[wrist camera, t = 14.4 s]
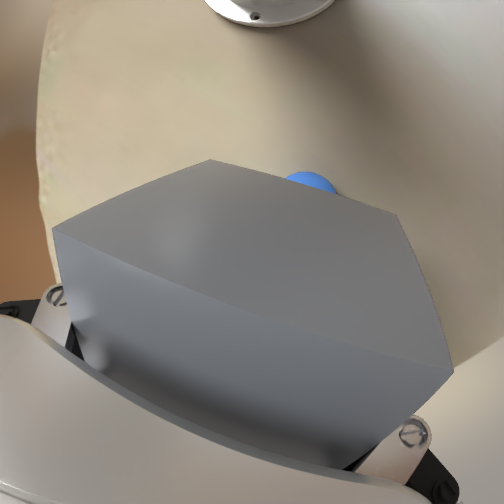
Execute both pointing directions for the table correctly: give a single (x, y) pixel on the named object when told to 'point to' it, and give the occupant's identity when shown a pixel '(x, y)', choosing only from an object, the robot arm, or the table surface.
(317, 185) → the ball
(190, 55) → the table surface
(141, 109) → the table surface
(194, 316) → the grey cube
